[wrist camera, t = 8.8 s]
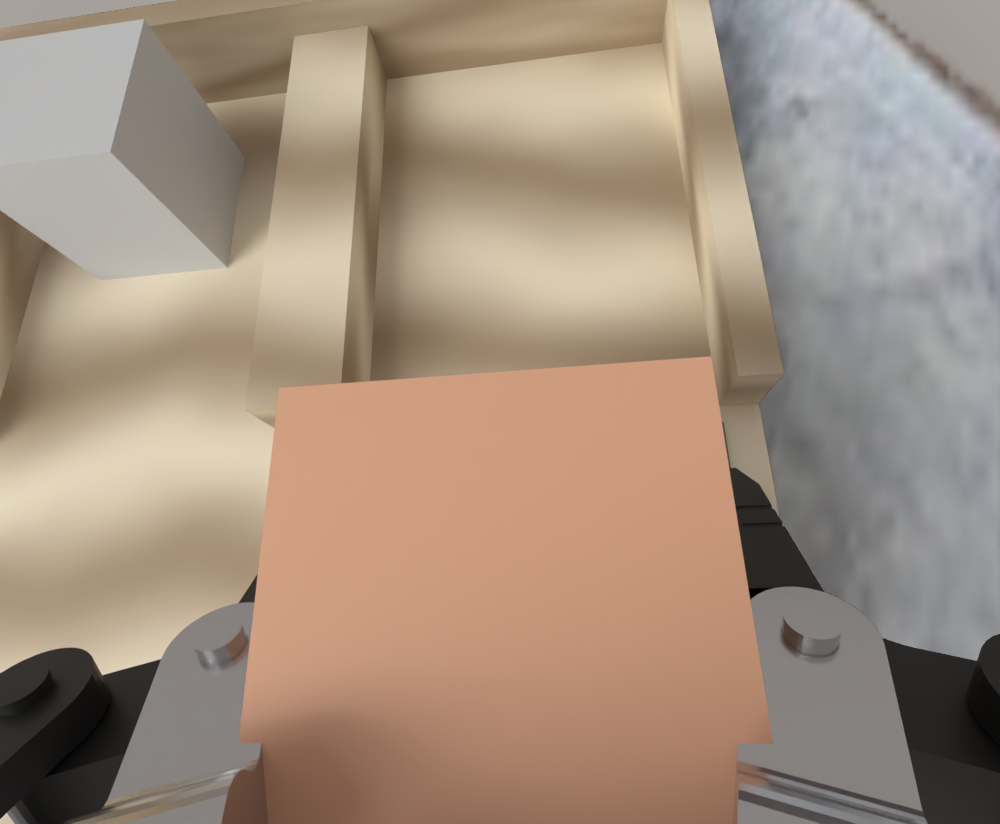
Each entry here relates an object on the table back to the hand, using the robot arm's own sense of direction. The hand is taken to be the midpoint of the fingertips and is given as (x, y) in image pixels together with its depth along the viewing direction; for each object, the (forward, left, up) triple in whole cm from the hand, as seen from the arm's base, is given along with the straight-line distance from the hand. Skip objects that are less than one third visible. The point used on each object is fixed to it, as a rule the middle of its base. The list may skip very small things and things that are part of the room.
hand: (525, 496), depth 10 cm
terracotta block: (0, -2, -3) cm, 4 cm away
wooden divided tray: (-7, +3, -7) cm, 10 cm away
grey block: (-14, +8, -5) cm, 17 cm away
